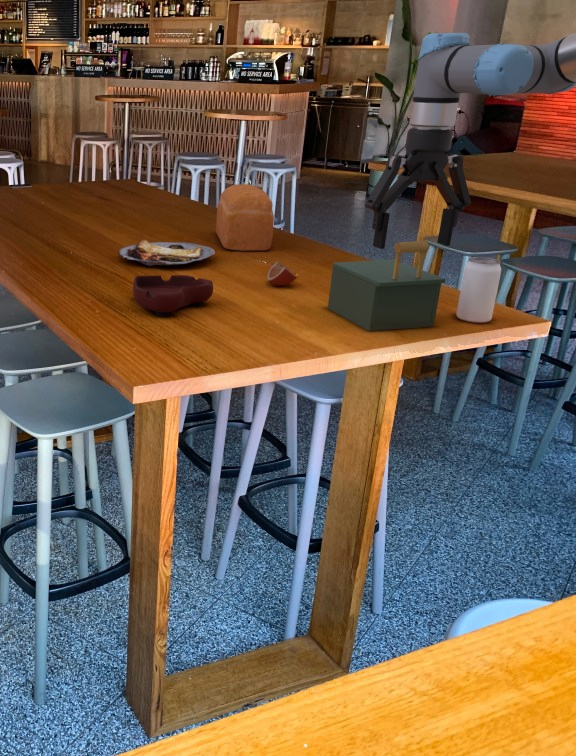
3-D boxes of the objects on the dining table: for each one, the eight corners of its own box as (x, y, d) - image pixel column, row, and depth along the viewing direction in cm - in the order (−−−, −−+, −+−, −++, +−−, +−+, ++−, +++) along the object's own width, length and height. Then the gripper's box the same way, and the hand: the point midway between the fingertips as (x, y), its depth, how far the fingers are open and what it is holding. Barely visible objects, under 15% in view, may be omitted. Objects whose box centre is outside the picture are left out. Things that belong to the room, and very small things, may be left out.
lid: (445, 283, 151) (452, 242, 148) (378, 287, 148) (384, 245, 145) (393, 263, 166) (399, 225, 163) (332, 266, 164) (337, 228, 161)
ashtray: (160, 290, 181) (161, 268, 179) (219, 303, 170) (220, 281, 169) (107, 305, 170) (107, 282, 168) (166, 321, 159) (168, 297, 157)
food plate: (103, 263, 206) (103, 249, 205) (140, 246, 225) (141, 234, 224) (194, 274, 195) (195, 260, 194) (225, 255, 214) (226, 242, 212)
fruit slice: (262, 280, 189) (264, 259, 187) (291, 280, 189) (293, 260, 187) (269, 289, 181) (271, 268, 180) (299, 289, 181) (301, 268, 179)
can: (492, 317, 161) (504, 259, 156) (489, 325, 156) (501, 265, 151) (458, 312, 164) (468, 255, 160) (453, 320, 159) (464, 261, 154)
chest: (433, 326, 155) (441, 282, 152) (369, 331, 152) (375, 285, 149) (387, 304, 170) (393, 263, 166) (327, 308, 167) (332, 266, 164)
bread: (222, 251, 219) (226, 193, 213) (214, 232, 243) (217, 180, 238) (273, 252, 218) (278, 193, 212) (259, 233, 242) (264, 180, 236)
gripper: (478, 125, 147) (457, 238, 155) (355, 127, 142) (340, 244, 150) (507, 128, 140) (483, 247, 148) (379, 130, 135) (361, 253, 143)
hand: (411, 246), depth 149 cm, fingers open, 13 cm apart
